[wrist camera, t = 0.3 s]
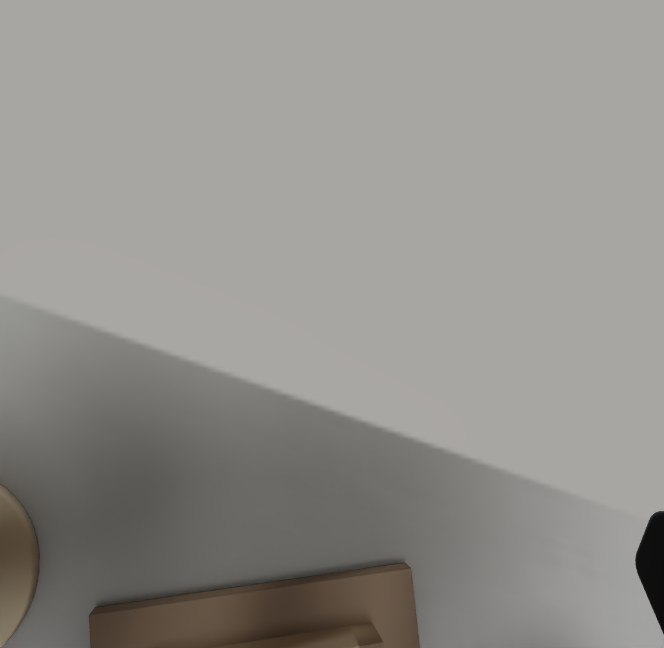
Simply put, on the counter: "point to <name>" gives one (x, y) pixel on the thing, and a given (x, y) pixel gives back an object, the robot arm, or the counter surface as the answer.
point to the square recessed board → (272, 615)
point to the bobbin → (15, 564)
